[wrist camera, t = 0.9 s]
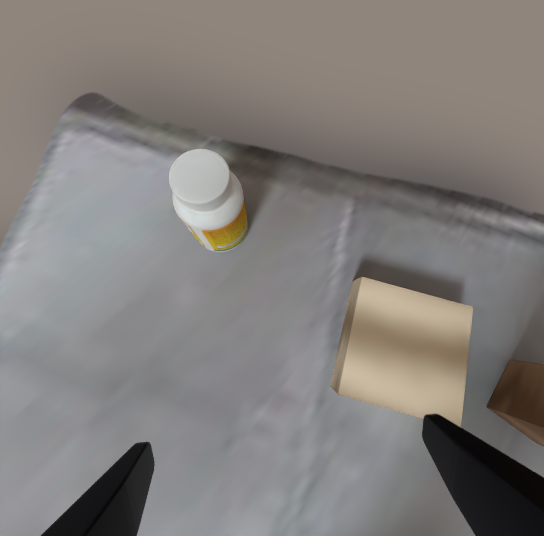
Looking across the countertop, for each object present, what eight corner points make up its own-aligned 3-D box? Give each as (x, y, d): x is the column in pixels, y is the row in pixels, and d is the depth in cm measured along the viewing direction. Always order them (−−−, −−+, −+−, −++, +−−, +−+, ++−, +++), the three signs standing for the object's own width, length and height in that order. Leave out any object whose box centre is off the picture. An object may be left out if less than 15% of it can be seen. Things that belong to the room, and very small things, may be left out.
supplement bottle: (187, 242, 26) (142, 196, 16) (208, 197, 27) (177, 128, 17) (237, 261, 25) (220, 224, 16) (256, 214, 27) (251, 153, 17)
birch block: (436, 416, 23) (460, 429, 20) (329, 385, 24) (338, 394, 21) (449, 309, 25) (473, 307, 22) (350, 282, 26) (361, 276, 23)
